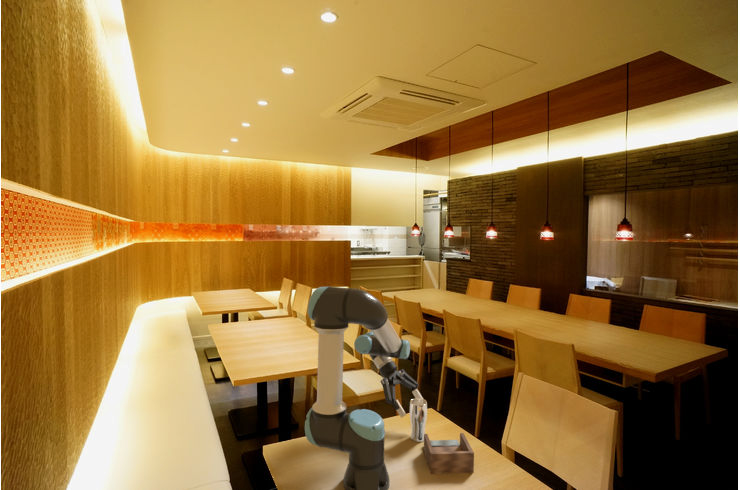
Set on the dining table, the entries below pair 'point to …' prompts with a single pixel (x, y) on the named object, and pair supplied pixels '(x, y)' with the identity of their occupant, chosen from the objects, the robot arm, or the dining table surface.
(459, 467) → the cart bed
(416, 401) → the beer glass
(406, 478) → the dining table surface
